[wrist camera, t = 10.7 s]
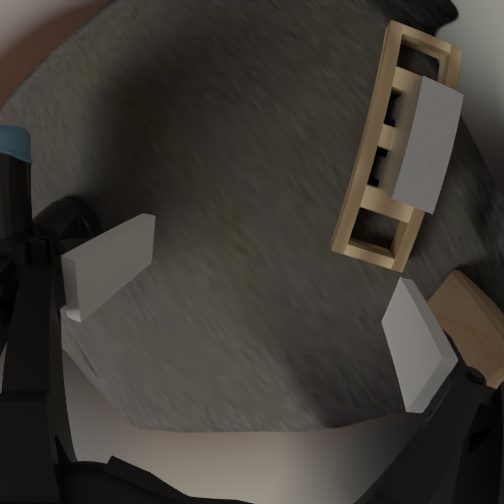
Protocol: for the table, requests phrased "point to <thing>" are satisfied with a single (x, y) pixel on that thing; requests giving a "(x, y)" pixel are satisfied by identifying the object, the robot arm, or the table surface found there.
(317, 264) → the table surface
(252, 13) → the table surface
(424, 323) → the robot arm
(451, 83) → the rail
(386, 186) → the grey concrete brick
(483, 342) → the wooden block
